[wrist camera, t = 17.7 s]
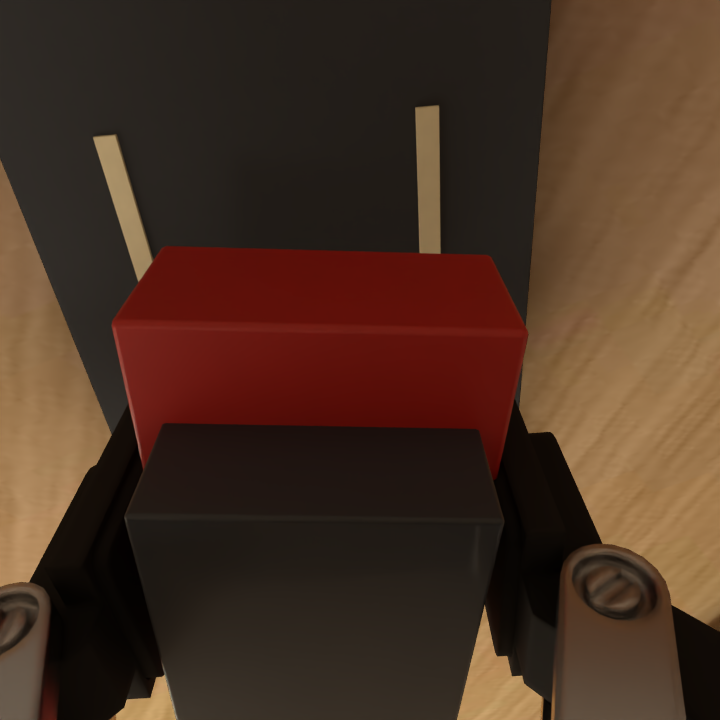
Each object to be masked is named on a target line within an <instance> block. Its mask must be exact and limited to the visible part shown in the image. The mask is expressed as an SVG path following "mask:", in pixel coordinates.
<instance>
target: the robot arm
mask: <svg viewBox="0 0 720 720" xmlns="http://www.w3.org/2000/svg"><path fill="white" fill-rule="evenodd" d="M142 472H143V467H142V462H141V458H140V453H139V449H138V444H137V439H136V435H135V430H134V426H133V421H132V417H131V412H130V408H129V403H128V405H127V407H126V409H125V411H124V413H123V414H122V416H121V418H120V420H119V422H118V424H117V426H116V428H115V430H114V432H113V434H112V436H111V438H110V440H109V442H108V444H107V446H106V448H105V449H104V451H103V453H102V455H101V457H100V459H99V461H98V463H97V465H95V466H93V467H91V468H90V469H89V471H88V472H87V474H86V475H85V477H84V479H83V481H82V483H81V485H80V487H79V488H78V490H77V492H76V494H75V496H74V498H73V500H72V502H71V504H70V506H69V507H68V509H67V511H66V513H65V515H64V517H63V519H62V521H61V523H60V525H59V526H58V528H57V530H56V532H55V534H54V536H53V538H52V540H51V542H50V544H49V545H48V547H47V549H46V551H45V553H44V555H43V557H42V559H41V561H40V563H39V564H38V566H37V568H36V570H35V572H34V574H33V576H32V578H31V580H30V582H29V583H26V582H19V583H13V584H8V585H4V586H2V587H0V720H116V714H117V713H118V712H119V711H120V710H121V709H123V708H124V706H125V703H126V700H127V699H138V698H150V697H151V694H152V690H153V687H154V683H155V679H156V677H162V676H163V675H164V670H163V666H162V662H161V659H160V655H159V651H158V647H157V643H156V639H155V635H154V631H153V627H152V624H151V620H150V616H149V612H148V608H147V604H146V600H145V596H144V593H143V589H142V585H141V581H140V577H139V573H138V569H137V565H136V562H135V558H134V554H133V550H132V546H131V542H130V538H129V534H128V531H127V527H126V523H125V518H124V516H125V513H126V510H127V508H128V506H129V503H130V501H131V498H132V496H133V494H134V491H135V489H136V486H137V484H138V482H139V479H140V477H141V474H142ZM493 482H494V485H495V489H496V492H497V496H498V500H499V503H500V507H501V510H502V514H503V517H504V521H505V522H504V527H503V531H502V535H501V539H500V543H499V547H498V551H497V556H496V560H495V564H494V568H493V572H492V576H491V580H490V584H489V589H488V593H487V597H486V601H485V607H486V612H487V617H488V621H489V626H490V631H491V635H492V640H493V645H494V649H495V653H496V655H497V656H508V660H509V665H510V669H511V673H512V676H523V680H524V684H526V685H527V686H528V687H530V688H531V689H532V690H534V691H535V692H536V693H538V694H539V695H540V696H542V703H541V720H720V632H719V631H717V630H715V629H713V628H712V627H710V626H708V625H706V624H705V623H703V622H701V621H699V620H697V619H696V618H694V617H692V616H690V615H689V614H687V613H685V612H683V611H681V610H680V609H678V608H676V607H674V606H673V605H671V599H670V594H669V591H668V587H667V584H666V581H665V580H664V578H663V577H662V576H661V574H660V573H659V571H658V570H657V569H656V568H655V567H654V566H653V565H652V564H651V563H649V562H648V561H647V560H646V559H645V558H644V557H642V556H640V555H638V554H636V553H634V552H632V551H631V550H629V549H626V548H622V547H619V546H615V545H610V544H602V542H601V539H600V537H599V535H598V533H597V530H596V528H595V526H594V524H593V521H592V519H591V517H590V515H589V512H588V510H587V508H586V506H585V503H584V501H583V499H582V496H581V494H580V492H579V490H578V487H577V485H576V483H575V481H574V478H573V476H572V474H571V472H570V469H569V467H568V465H567V463H566V460H565V458H564V456H563V454H562V451H561V449H560V447H559V445H558V442H557V440H556V438H555V437H554V435H553V434H552V433H551V432H543V433H529V434H528V431H527V429H526V426H525V423H524V421H523V418H522V416H521V413H520V410H519V408H518V405H517V403H516V400H515V398H514V403H513V408H512V412H511V417H510V421H509V426H508V430H507V435H506V440H505V444H504V449H503V453H502V458H501V462H500V467H499V471H498V476H497V479H495V480H493Z"/></svg>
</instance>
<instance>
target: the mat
mask: <svg viewBox="0 0 720 720" xmlns="http://www.w3.org/2000/svg"><path fill="white" fill-rule="evenodd" d="M551 1H552V0H0V159H1V161H2V164H3V166H4V169H5V171H6V174H7V176H8V179H9V181H10V184H11V186H12V189H13V191H14V194H15V196H16V199H17V201H18V203H19V206H20V208H21V211H22V213H23V216H24V218H25V221H26V223H27V226H28V228H29V231H30V233H31V236H32V238H33V241H34V243H35V246H36V248H37V250H38V253H39V255H40V258H41V260H42V263H43V265H44V268H45V270H46V273H47V275H48V278H49V280H50V283H51V285H52V288H53V290H54V293H55V295H56V298H57V300H58V302H59V305H60V307H61V310H62V312H63V315H64V317H65V320H66V322H67V325H68V327H69V330H70V332H71V335H72V337H73V340H74V342H75V345H76V347H77V349H78V352H79V354H80V357H81V359H82V362H83V364H84V367H85V369H86V372H87V374H88V377H89V379H90V382H91V384H92V387H93V389H94V392H95V394H96V396H97V399H98V401H99V404H100V406H101V409H102V411H103V414H104V416H105V419H106V421H107V424H108V426H109V429H110V431H111V434H113V432H114V430H115V428H116V426H117V424H118V422H119V420H120V418H121V416H122V414H123V413H124V411H125V409H126V407H127V405H128V398H127V394H126V389H125V385H124V380H123V376H122V371H121V367H120V362H119V357H118V353H117V348H116V344H115V339H114V335H113V330H112V321H113V319H114V317H115V316H116V315H117V313H118V312H119V310H120V309H121V307H122V306H123V304H124V303H125V301H126V300H127V298H128V297H129V295H130V294H131V293H132V291H133V290H134V288H135V287H136V285H137V284H138V282H139V281H140V279H141V278H142V276H143V275H144V274H145V272H146V271H147V269H148V268H149V266H150V265H151V263H152V262H153V260H154V259H155V257H156V256H157V254H158V253H159V252H160V250H161V249H162V248H163V247H165V246H183V247H220V248H256V249H292V250H328V251H364V252H400V253H436V254H472V255H488V256H490V257H491V258H492V260H493V262H494V264H495V266H496V268H497V270H498V272H499V274H500V276H501V278H502V280H503V282H504V284H505V286H506V288H507V290H508V292H509V294H510V296H511V298H512V300H513V302H514V304H515V306H516V308H517V310H518V312H519V314H520V316H521V318H522V320H523V322H524V324H525V326H526V315H527V303H528V290H529V277H530V265H531V252H532V240H533V227H534V214H535V202H536V189H537V177H538V164H539V152H540V139H541V126H542V114H543V101H544V89H545V76H546V63H547V51H548V38H549V26H550V13H551ZM522 365H523V362H522ZM521 378H522V366H521V371H520V376H519V380H518V385H517V389H516V394H515V400H516V403H517V405H518V408H519V403H520V391H521Z"/></svg>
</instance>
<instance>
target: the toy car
mask: <svg viewBox="0 0 720 720" xmlns="http://www.w3.org/2000/svg"><path fill="white" fill-rule="evenodd" d="M112 330H113V335H114V339H115V344H116V348H117V353H118V357H119V362H120V367H121V371H122V376H123V380H124V385H125V389H126V394H127V398H128V403H129V408H130V412H131V417H132V421H133V426H134V430H135V435H136V439H137V444H138V449H139V453H140V458H141V462H142V467H143V472H142V474H141V477H140V479H139V482H138V484H137V486H136V489H135V491H134V494H133V496H132V498H131V501H130V503H129V506H128V508H127V510H126V513H125V516H124V518H125V523H126V527H127V531H128V534H129V538H130V542H131V546H132V550H133V554H134V558H135V562H136V565H137V569H138V573H139V577H140V581H141V585H142V589H143V593H144V596H145V600H146V604H147V608H148V612H149V616H150V620H151V624H152V627H153V631H154V635H155V639H156V643H157V647H158V651H159V655H160V659H161V662H162V666H163V670H164V674H165V678H166V682H167V686H168V690H169V693H170V697H171V701H172V705H173V709H174V713H175V717H176V720H457V717H458V713H459V709H460V704H461V700H462V696H463V692H464V688H465V684H466V680H467V675H468V671H469V667H470V663H471V659H472V655H473V651H474V647H475V642H476V638H477V634H478V630H479V626H480V622H481V618H482V613H483V609H484V605H485V601H486V597H487V593H488V589H489V584H490V580H491V576H492V572H493V568H494V564H495V560H496V556H497V551H498V547H499V543H500V539H501V535H502V531H503V527H504V522H505V521H504V517H503V514H502V510H501V507H500V503H499V500H498V496H497V492H496V489H495V485H494V482H493V480H495V479H497V476H498V471H499V467H500V462H501V458H502V453H503V449H504V444H505V440H506V435H507V430H508V426H509V421H510V417H511V412H512V408H513V403H514V398H515V394H516V389H517V385H518V380H519V376H520V371H521V366H522V362H523V357H524V353H525V348H526V344H527V339H528V331H527V328H526V326H525V324H524V322H523V320H522V318H521V316H520V314H519V312H518V310H517V308H516V306H515V304H514V302H513V300H512V298H511V296H510V294H509V292H508V290H507V288H506V286H505V284H504V282H503V280H502V278H501V276H500V274H499V272H498V270H497V268H496V266H495V264H494V262H493V260H492V258H491V257H490V256H488V255H472V254H436V253H400V252H364V251H328V250H292V249H256V248H220V247H183V246H165V247H163V248H162V249H161V250H160V252H159V253H158V254H157V256H156V257H155V259H154V260H153V262H152V263H151V265H150V266H149V268H148V269H147V271H146V272H145V274H144V275H143V276H142V278H141V279H140V281H139V282H138V284H137V285H136V287H135V288H134V290H133V291H132V293H131V294H130V295H129V297H128V298H127V300H126V301H125V303H124V304H123V306H122V307H121V309H120V310H119V312H118V313H117V315H116V316H115V317H114V319H113V321H112Z"/></svg>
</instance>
